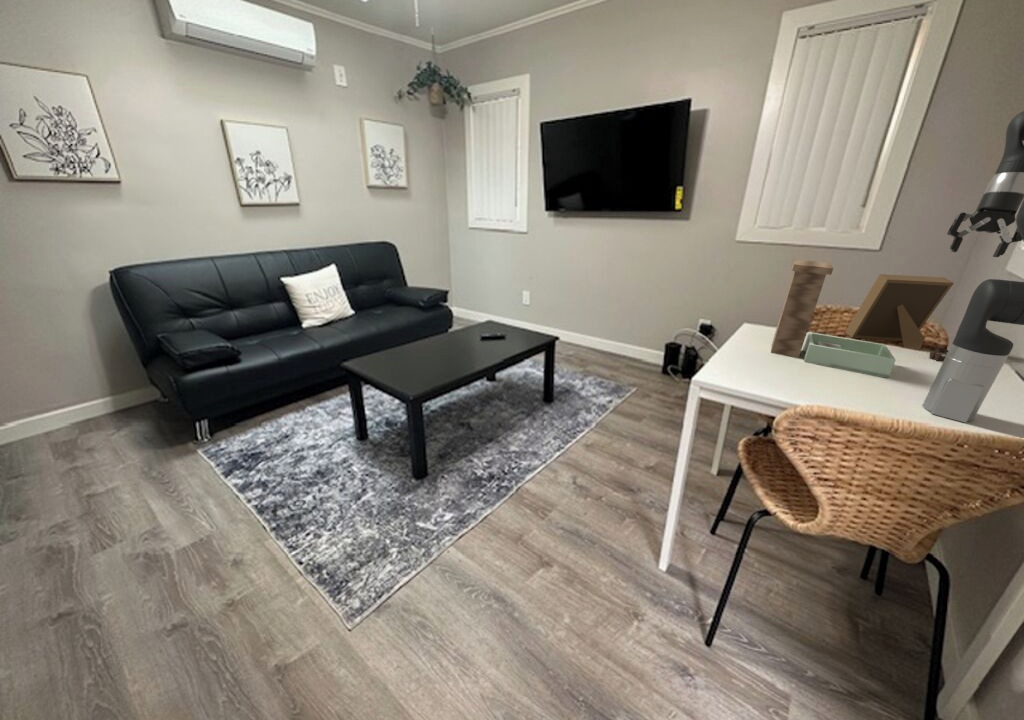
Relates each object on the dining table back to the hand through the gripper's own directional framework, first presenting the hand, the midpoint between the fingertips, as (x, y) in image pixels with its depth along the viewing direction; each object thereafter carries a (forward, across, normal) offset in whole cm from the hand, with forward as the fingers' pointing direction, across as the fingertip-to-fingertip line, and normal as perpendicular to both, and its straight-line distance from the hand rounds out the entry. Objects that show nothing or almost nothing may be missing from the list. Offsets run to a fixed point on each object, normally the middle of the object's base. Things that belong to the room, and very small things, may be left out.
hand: (974, 254), depth 113 cm
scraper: (+37, +18, +1) cm, 41 cm away
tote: (+38, +18, +1) cm, 42 cm away
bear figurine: (+32, -14, -26) cm, 44 cm away
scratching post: (+39, +34, +1) cm, 52 cm away
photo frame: (+31, +2, -36) cm, 48 cm away
